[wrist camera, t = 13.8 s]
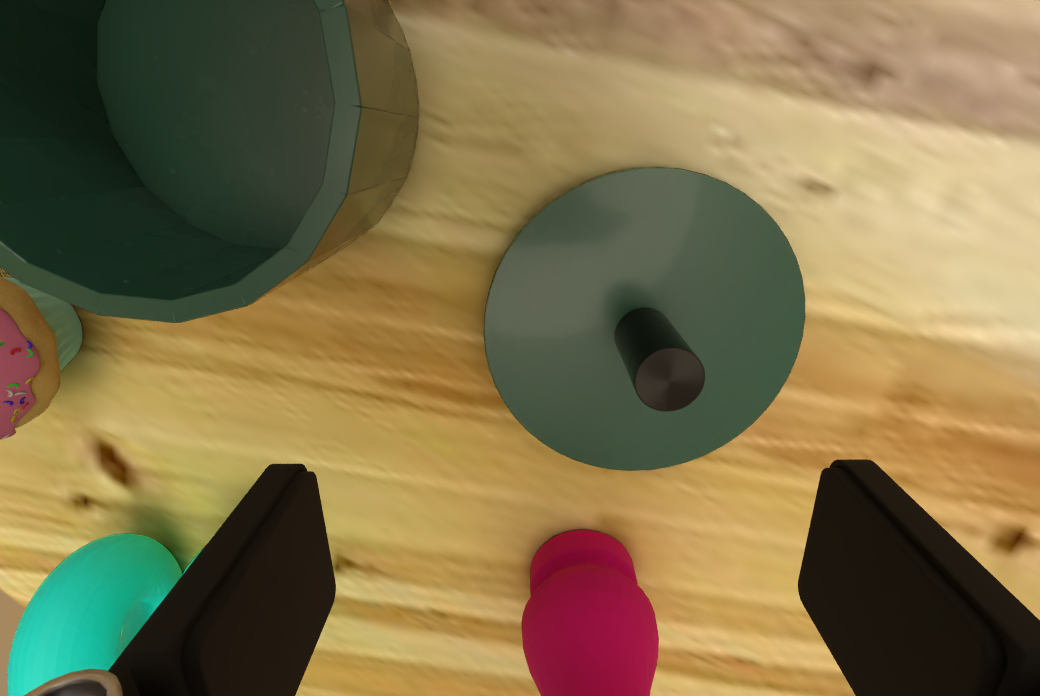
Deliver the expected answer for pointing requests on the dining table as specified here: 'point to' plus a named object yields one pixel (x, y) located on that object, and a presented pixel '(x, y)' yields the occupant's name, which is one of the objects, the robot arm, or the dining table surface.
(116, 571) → the turquoise spool shape
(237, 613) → the robot arm
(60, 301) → the cupcake
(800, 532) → the dining table surface
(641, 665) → the pepper mill
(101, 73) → the tin
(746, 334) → the lid
